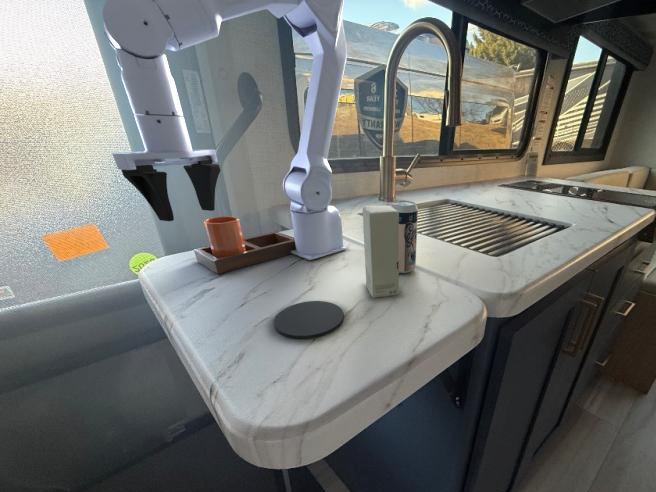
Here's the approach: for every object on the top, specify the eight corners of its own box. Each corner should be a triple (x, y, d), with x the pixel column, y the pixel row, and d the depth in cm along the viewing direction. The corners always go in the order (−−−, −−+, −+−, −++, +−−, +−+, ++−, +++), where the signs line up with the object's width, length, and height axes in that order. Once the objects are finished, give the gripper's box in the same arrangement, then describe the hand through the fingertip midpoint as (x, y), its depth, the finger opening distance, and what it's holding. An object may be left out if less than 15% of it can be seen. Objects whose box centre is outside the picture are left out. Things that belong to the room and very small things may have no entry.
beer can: (413, 275, 56) (415, 206, 50) (387, 273, 56) (386, 205, 51) (417, 266, 60) (420, 201, 54) (392, 263, 60) (393, 199, 55)
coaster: (316, 297, 47) (316, 295, 47) (357, 318, 42) (357, 315, 42) (260, 321, 41) (260, 318, 41) (301, 348, 36) (300, 345, 36)
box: (399, 295, 49) (401, 211, 42) (371, 299, 47) (369, 213, 41) (390, 282, 53) (390, 204, 47) (364, 285, 52) (361, 205, 46)
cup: (239, 254, 64) (230, 214, 60) (253, 261, 60) (244, 219, 57) (210, 261, 60) (198, 219, 56) (223, 269, 57) (212, 225, 53)
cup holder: (197, 261, 60) (193, 249, 58) (278, 242, 71) (276, 231, 70) (218, 274, 55) (214, 261, 53) (301, 250, 66) (299, 239, 65)
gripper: (183, 118, 51) (206, 204, 57) (78, 112, 38) (123, 223, 45) (218, 118, 49) (238, 207, 55) (120, 112, 36) (160, 227, 43)
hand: (189, 214), depth 50 cm, fingers open, 7 cm apart
